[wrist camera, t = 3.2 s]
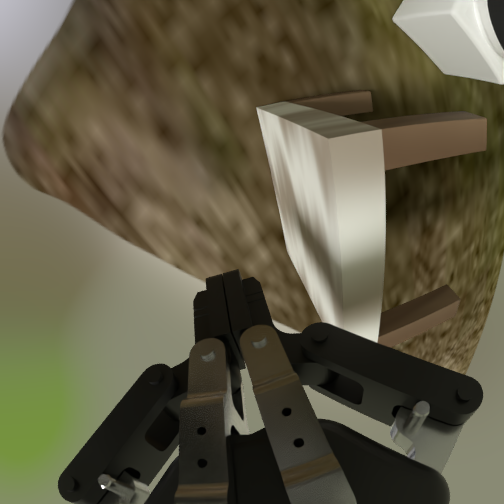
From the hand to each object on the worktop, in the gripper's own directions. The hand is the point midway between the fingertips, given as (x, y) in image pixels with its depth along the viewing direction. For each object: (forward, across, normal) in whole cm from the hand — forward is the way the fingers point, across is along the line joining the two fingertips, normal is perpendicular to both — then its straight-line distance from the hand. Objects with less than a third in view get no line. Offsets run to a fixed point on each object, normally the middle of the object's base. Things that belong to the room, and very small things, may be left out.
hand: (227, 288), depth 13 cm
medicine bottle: (+10, -22, -12) cm, 27 cm away
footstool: (+10, -9, 0) cm, 13 cm away
